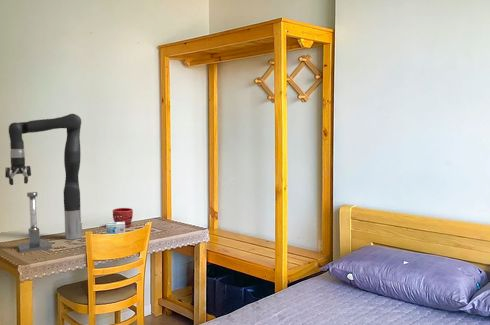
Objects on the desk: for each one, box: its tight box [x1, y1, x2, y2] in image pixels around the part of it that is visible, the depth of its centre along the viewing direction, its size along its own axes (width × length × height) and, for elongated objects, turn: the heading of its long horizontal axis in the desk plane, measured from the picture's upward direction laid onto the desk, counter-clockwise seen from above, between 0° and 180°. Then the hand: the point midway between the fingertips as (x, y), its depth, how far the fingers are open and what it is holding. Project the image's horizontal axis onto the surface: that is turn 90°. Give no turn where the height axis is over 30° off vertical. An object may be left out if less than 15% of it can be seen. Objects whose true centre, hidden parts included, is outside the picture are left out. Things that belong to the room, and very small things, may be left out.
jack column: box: [26, 191, 38, 230], centre depth 258 cm, size 5×5×24 cm
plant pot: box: [112, 207, 134, 229], centre depth 312 cm, size 13×13×12 cm
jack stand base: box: [17, 227, 53, 253], centre depth 259 cm, size 16×16×10 cm
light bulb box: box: [105, 221, 126, 234], centre depth 272 cm, size 11×7×11 cm, turn 105°
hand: (18, 184), depth 271 cm, fingers open, 8 cm apart
